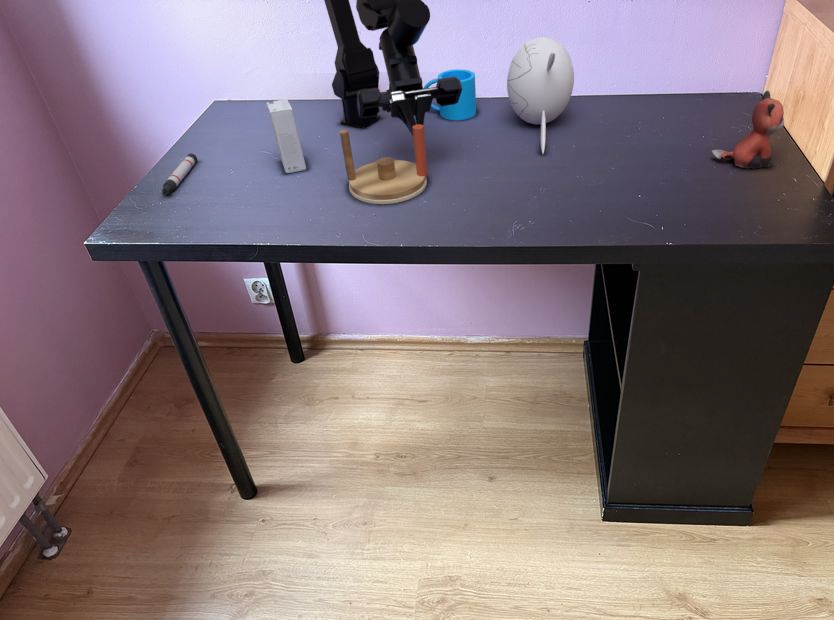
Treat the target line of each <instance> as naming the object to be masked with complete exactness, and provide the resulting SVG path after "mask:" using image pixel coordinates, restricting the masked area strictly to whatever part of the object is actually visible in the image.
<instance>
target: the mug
mask: <svg viewBox="0 0 834 620" xmlns="http://www.w3.org/2000/svg"><path fill="white" fill-rule="evenodd" d="M449 77H457V78H458V79H459V80H460V82H461V86H462V92H461V95H460V98H459V101H458V103H456V104H454V105H447V106H440V105H439V106H437V105H435V104H433V103H432V104H431V108H430V109H432V110H435V111H437V112H439V115H440V117H441V118H443V119H445V120H448V121H449V120H450V121H462V120H463V121H465V120H468V119H471V118H473V117H475V116H476V115H477V96H476V94H477V93H476V74H475V73H474V71H471V70H469V69H462V68H461V69H459V68H458V69H449V70H445V71H441V72H440V73H438V75H437V78H434V79H432V80H429V81H428V82H427V83H426V84H425V85H423V89H425V88H431V87H432V85H434V84H437V81H438V79H442V78H449Z"/></svg>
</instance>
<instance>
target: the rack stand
mask: <svg viewBox="0 0 834 620" xmlns="http://www.w3.org/2000/svg"><path fill="white" fill-rule="evenodd" d="M427 180H428V179H427V175H426V176H425V183H424V185H423V186H422V187H421V188H420V189H419V190H417V191H416V192H414V193H412V194H409V195H407V196H403V197H400V198H394V199H384V200H378V199H369V198H365V197H361V196H359V195H357V194H355V193H354V192H353V191H352V190H351V188H350V183H348V189H349V193H350V194H351V195H352V197H353V198H355V199H356V200H358V201H361V202H363V203H368V204H373V205H391V204H398V203H403V202H405V201H409V200H411V199H413V198H415V197H417V196H419V195H420V194H421V193H423V192H424V191H425V189H426V187H427V185H428V181H427Z"/></svg>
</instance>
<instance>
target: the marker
mask: <svg viewBox="0 0 834 620" xmlns="http://www.w3.org/2000/svg"><path fill="white" fill-rule="evenodd" d="M197 161H198V157H197V155H195V154H194V153H188V154H187V155H186V156H185V158H183V160H181V162H180V163H179V164H178V166H177V167H176V168H175V170H174V171H173V172H172V173H171V174H170V176H169V177H168V178H167V179H166V181H165V182H164V183H163V184H162V190H161V194H162V195H168V194H170V193H173V192H174V191H175V189H177V187H178V186H179V185H180V183H182V181H183V179H184V178H185V177H186V176H187V175H188V173H189V172H190V170H191V169H192V168H193V167H194V166H195V164H196V163H197Z"/></svg>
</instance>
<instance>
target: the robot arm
mask: <svg viewBox="0 0 834 620" xmlns="http://www.w3.org/2000/svg"><path fill="white" fill-rule="evenodd" d="M323 1H324V5H325V8H326V11H327V15H328V19H329V21H330V25H331V28H332V32H333V35H334V39H335V42H336V43H335V44H336V46H337V49H336V50H337V51H336V54H335V57H334V58H335V59H334V67H335V74H334V77H333V79H332V83H331V88H332V91H333V95H334V96H335V97H337V98H338V99H340V100H341V104H342V108H343V109H342V110H343V115H344V116H343V117H344V119H341V120H340V124H341V125H345V126H350V127H355V128H359V129H365V128H367V127H368V126H370V125H371V124H373V123H375V122H376V121H378V120H380V119H381V116H380V115H379V113H380V108H381V109H382V112H386V113H390V116H391V118H396V119H399V120H400V121H401V122H402V123H403V124H404V125H405V126H406V128H407V130H408V131H409V133H410V134H411V136H412V137H413V128H412V127H413V126H414V125H417V124H421V125H423V126H424V125H425V116H426V113H429V112H430V111H431V109H432V108H431V104H433V100H434V99H435V102H436V104H437V105H439V107H440V106H447V105H454V104H456V103H458V101H459V98H460V95H461V92H462V86H461V82H460V80H459V79H458V78H457V77H449V78H442V79H438V78H437V79H438V81H437V83H436V85H435V86H433V87H432V86H431V87H429V88H425V89H423V88H424V85H423V84H424V83H423V78H422V77H421V73H420V68H419V64H418V57H417V55H416V52H415V48H414V45H415V44H417V43H418V42H419V40H420V38H421V36H422V35H423V32H424V31H425V29H426V27H427V25H428V23H429V22H430V20H431V12H430V7H429V6H428V5H427V4H426V3H425V2H424V1H423V0H356V1H355V2H356V4H355V9H356V11H357V14H358V18H359V20H360V22H361V24H362V25H363V26H364V27H365V29H366V30H367V31H371V32H374V31H378V30H379V31H380V30H382V29H383V31H381V33H380V36H379V43H378V50H379V51H381V52H382V56H383V60H384V64H385V69H386V73H387V77H388V82H389V84H388V89H386V90H385V91H381V90H380V88H379V86H380V70H379V67H378V65H377V63H376V61H375V55H374V51H373V50H372V49H371V48H370V47H366V45H365V44H364V43H363V42H362V41H361V39H360V35H359V32H358V28H357V25H356V21H355V18H354V14H353V11H352V6H351V3H350V0H323ZM424 127H425V126H424Z"/></svg>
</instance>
